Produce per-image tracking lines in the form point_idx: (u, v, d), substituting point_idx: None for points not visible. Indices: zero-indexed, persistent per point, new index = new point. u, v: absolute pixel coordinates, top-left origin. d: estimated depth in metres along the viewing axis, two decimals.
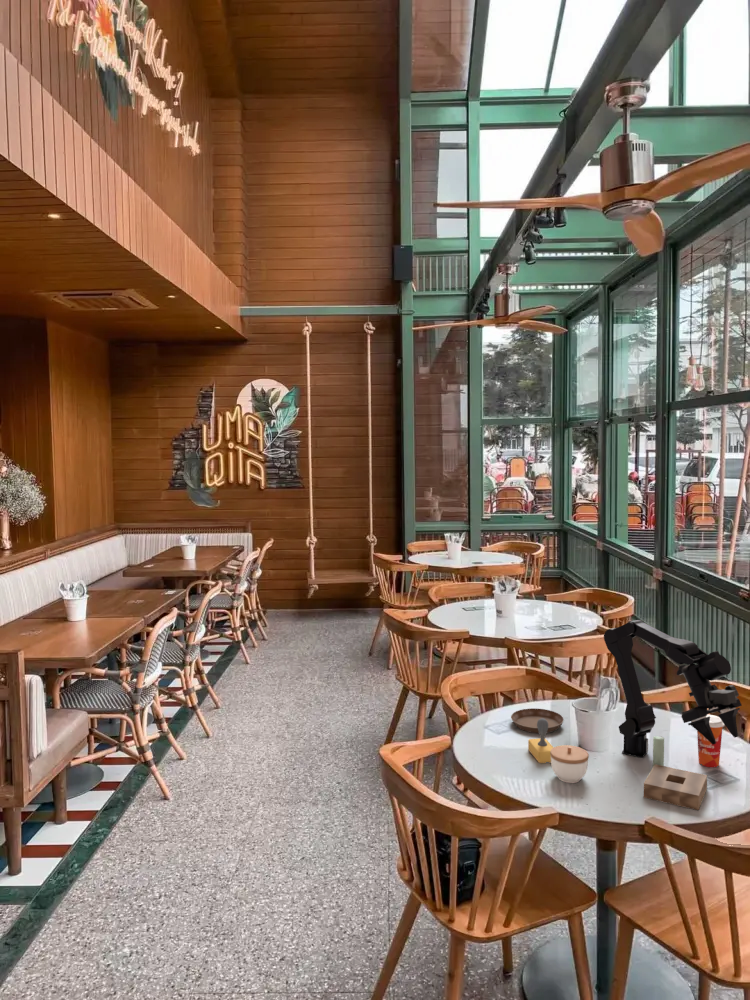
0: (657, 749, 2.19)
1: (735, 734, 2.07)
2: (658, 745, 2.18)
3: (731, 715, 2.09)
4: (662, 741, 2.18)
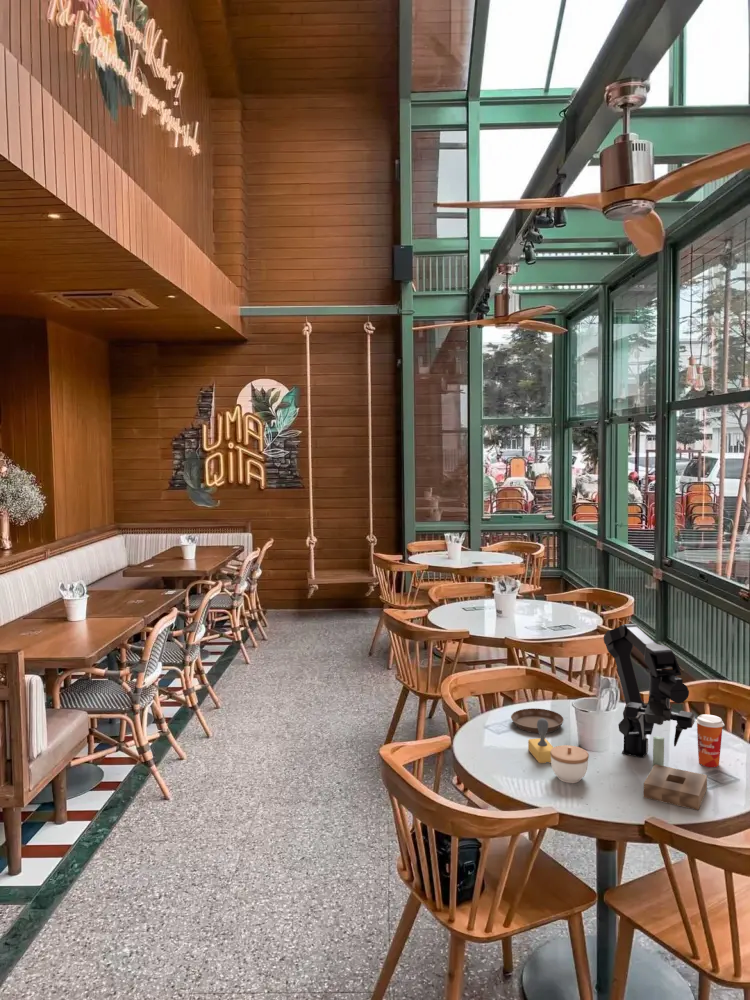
0: (657, 749, 2.19)
1: (674, 743, 2.17)
2: (658, 745, 2.18)
3: None
4: (662, 741, 2.18)
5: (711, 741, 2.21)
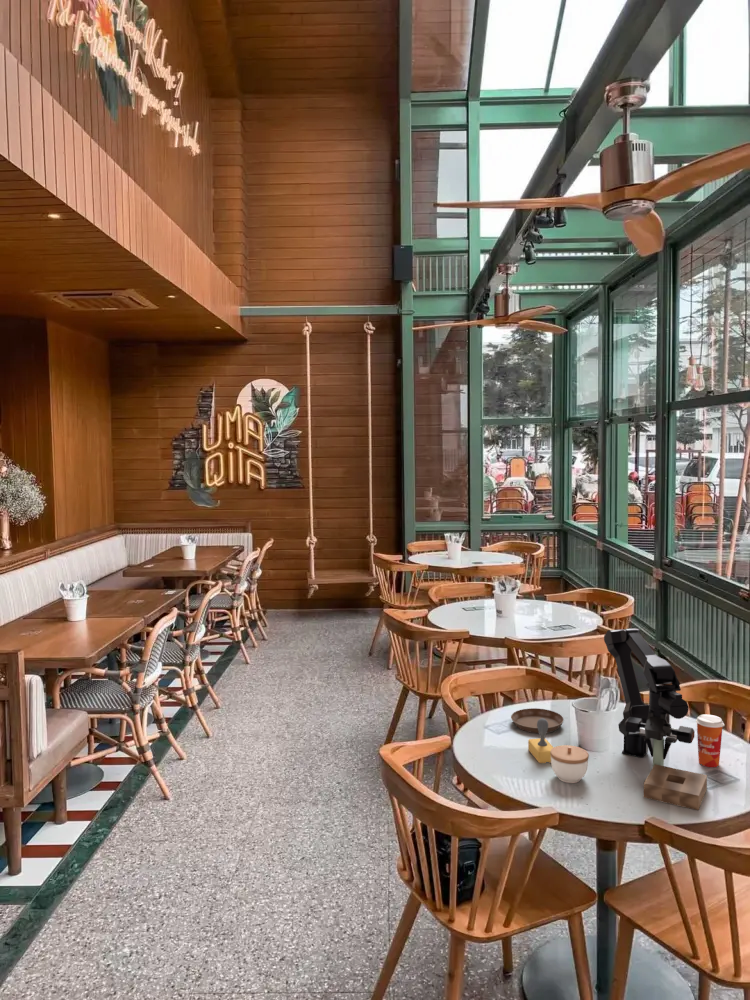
0: (657, 749, 2.19)
1: None
2: (658, 745, 2.18)
3: None
4: (662, 741, 2.18)
5: (711, 741, 2.21)
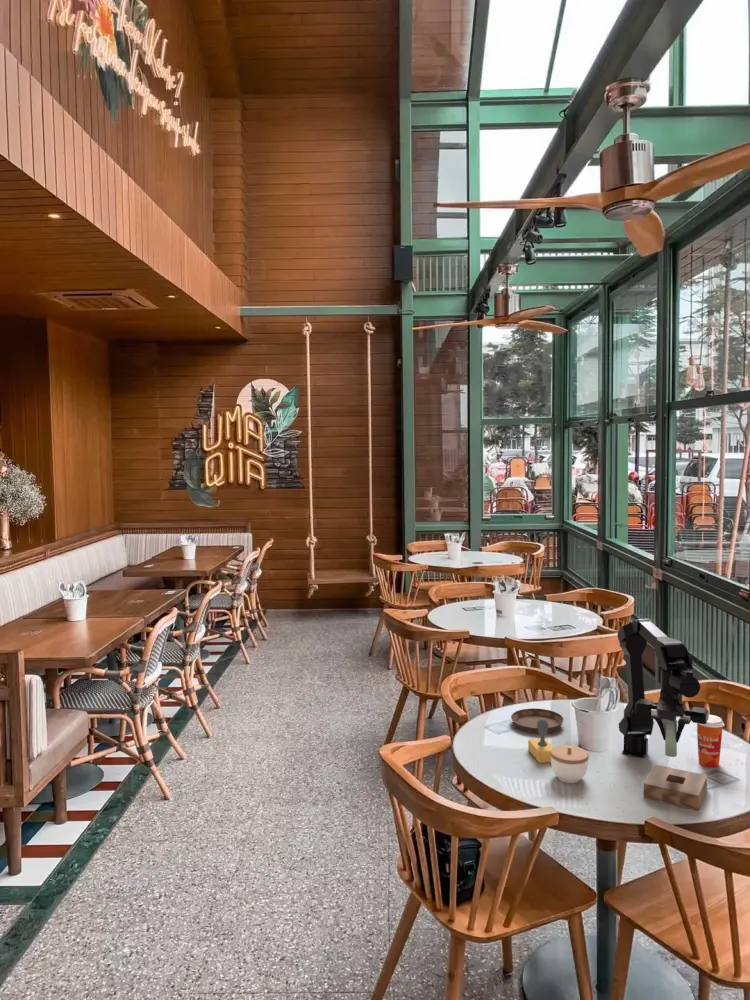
0: (670, 731, 2.08)
1: None
2: (671, 727, 2.08)
3: None
4: (675, 723, 2.08)
5: (711, 741, 2.21)
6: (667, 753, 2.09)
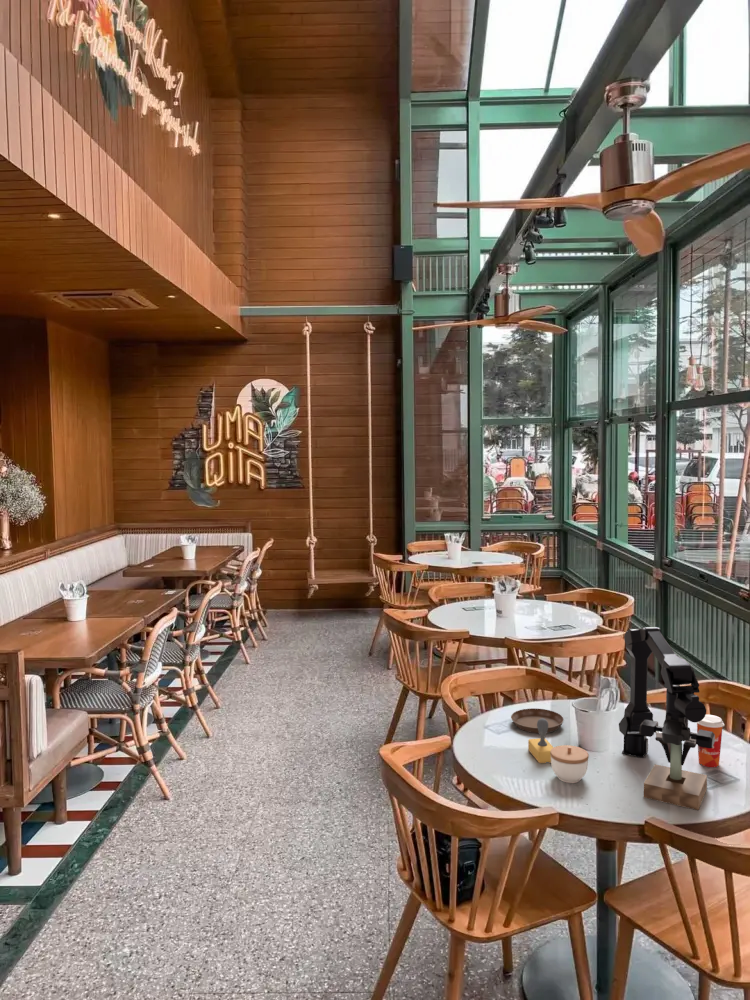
0: (675, 754, 2.04)
1: None
2: (676, 750, 2.04)
3: (683, 747, 2.03)
4: (680, 745, 2.04)
5: None
6: (672, 776, 2.05)
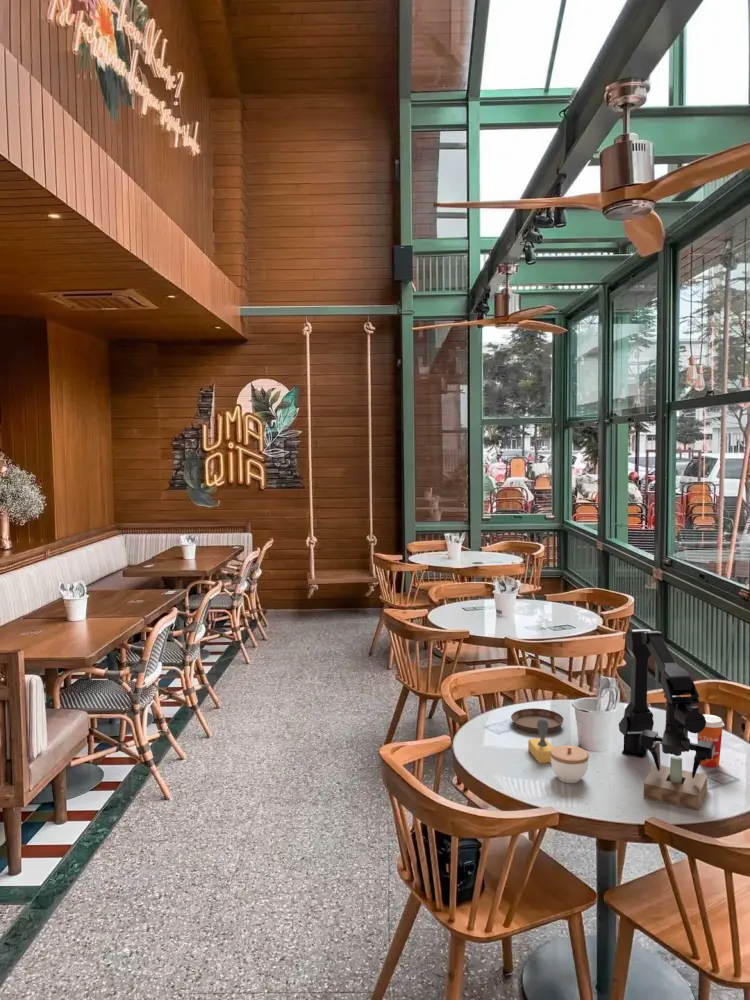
0: (674, 770, 2.05)
1: (692, 775, 2.04)
2: (676, 765, 2.04)
3: (694, 760, 2.02)
4: (680, 761, 2.04)
5: (711, 741, 2.21)
6: None
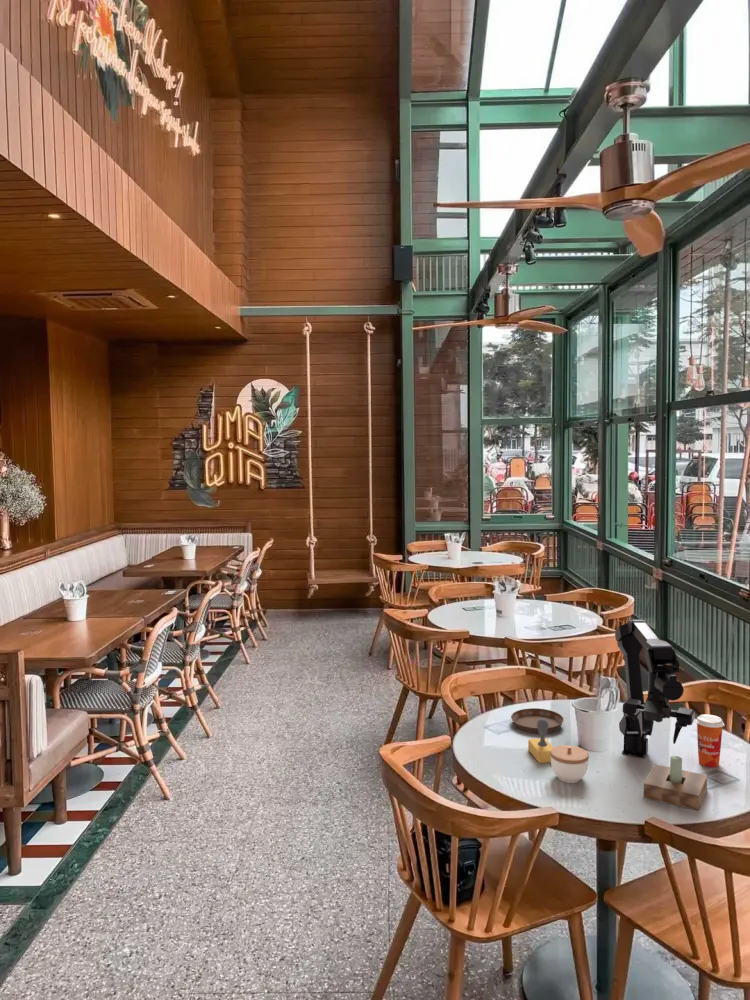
0: (674, 770, 2.05)
1: None
2: (676, 765, 2.04)
3: (675, 726, 2.10)
4: (680, 761, 2.04)
5: (711, 741, 2.21)
6: None
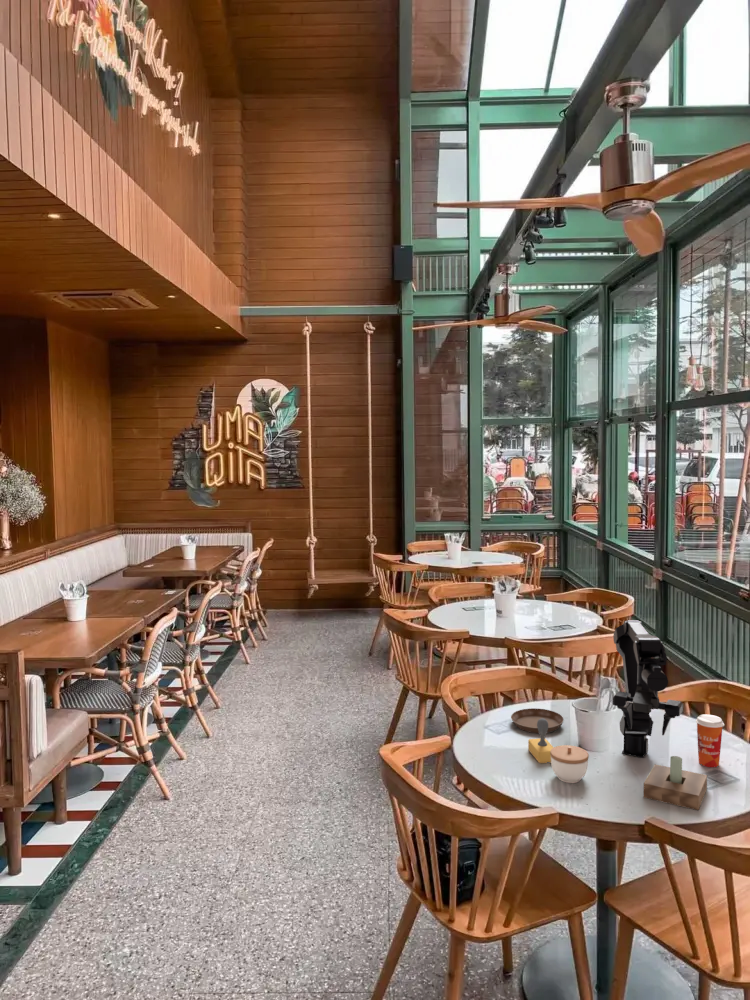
0: (674, 770, 2.05)
1: (662, 732, 2.17)
2: (676, 765, 2.04)
3: None
4: (680, 761, 2.04)
5: (711, 741, 2.21)
6: None
